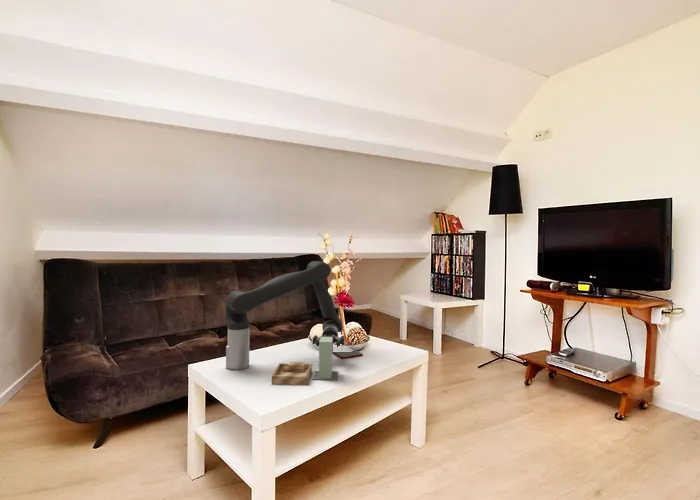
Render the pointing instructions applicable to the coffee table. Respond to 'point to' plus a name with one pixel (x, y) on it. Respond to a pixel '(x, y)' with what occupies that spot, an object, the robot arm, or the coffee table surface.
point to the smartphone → (348, 354)
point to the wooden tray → (291, 375)
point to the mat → (316, 377)
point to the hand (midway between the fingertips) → (327, 344)
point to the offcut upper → (296, 365)
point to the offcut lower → (293, 369)
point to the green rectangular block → (325, 357)
